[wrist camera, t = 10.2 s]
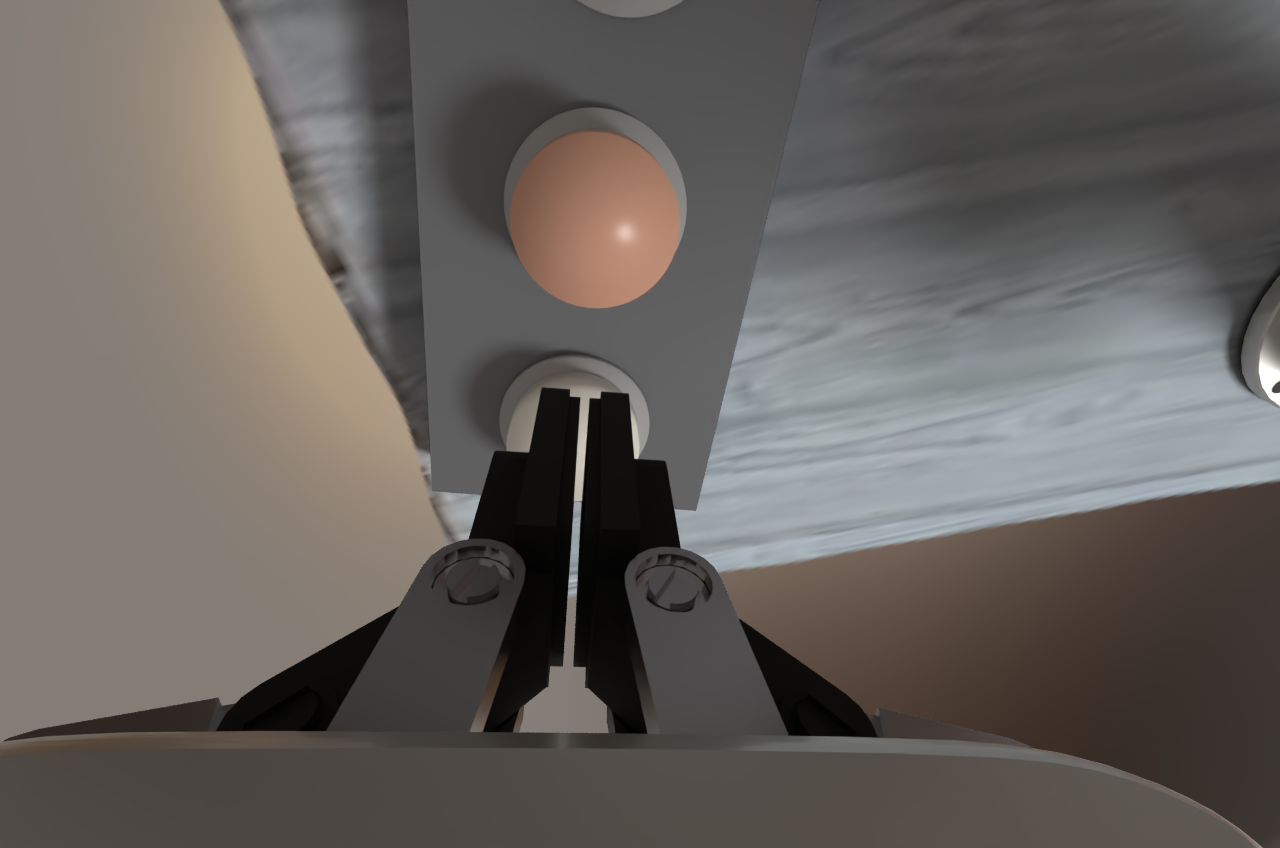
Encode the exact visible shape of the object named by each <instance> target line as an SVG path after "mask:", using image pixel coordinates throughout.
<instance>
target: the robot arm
mask: <svg viewBox="0 0 1280 848" xmlns="http://www.w3.org/2000/svg"><path fill="white" fill-rule="evenodd" d="M1241 363H1242V373H1243V376H1244V378H1245V381H1246V383H1247V385H1248V387H1249V388H1250V389H1251V390H1252V391H1253V392H1254V393H1255V394H1256V396H1257V397H1259V398H1261V399H1263V400H1265V401H1267V402H1268V403H1270V404H1272V405H1274V406H1276V407H1278V408H1280V275H1279V276H1278V277H1277V279H1276V280H1275V281H1274V283H1273V284H1272V285H1271V287H1270V288H1269V289H1268V291H1267V292H1266V293H1265V295H1264V296H1263V298H1262V300H1261V302H1260V303H1259V305H1258V307H1257V309H1256V310H1255V312H1254V314H1253V316H1252V318H1251V321H1250V323H1249V326H1248V328H1247V331H1246V334H1245V336H1244V342H1243V348H1242V353H1241ZM580 399H581V397H570V389H561V388H546V387H542V388H541V393H540V398H539V403H538V408H537V414H536V419H535V424H534V429H533V434H532V439H531V444H530V449H529V452H514V451H497V450H496V451H495V452H494V454H493V457H492V460H491V464H490V467H489V470H488V474H487V477H486V481H485V484H484V488H483V491H482V495H481V498H480V502H479V505H478V509H477V512H476V515H475V519H474V522H473V526H472V529H471V533H470V536H469V539H468V540H462V541H458V542H455V543H453V544H450V545H447V546H445V547H443V548H442V549H440V550H439V551H437V552H436V553H435V554H433V555H431V557H430V558H429V559H428V560H427V561H426V563H425V564H424V565H423V567H422V568H421V570H420V571H419V573H418V575H417V576H416V578H415V580H414V582H413V583H412V585H411V587H410V588H409V590H408V592H407V594H406V595H405V597H404V599H403V600H402V602H401V604H400V606H398V607H397V608H395V609H393V610H391V611H390V612H388V613H386V614H384V615H382V616H381V617H379V618H377V619H375V620H374V621H372V622H370V623H368V624H366V625H365V626H363V627H361V628H359V629H357V630H356V631H354V632H352V633H350V634H349V635H347V636H345V637H343V638H342V639H340V640H338V641H336V642H334V643H333V644H331V645H329V646H327V647H326V648H324V649H322V650H320V651H318V652H317V653H315V654H313V655H311V656H310V657H308V658H306V659H304V660H302V661H301V662H299V663H297V664H295V665H294V666H292V667H290V668H288V669H286V670H285V671H283V672H281V673H279V674H277V675H276V676H274V677H272V678H270V679H269V680H267V681H265V682H263V683H262V684H260V685H259V686H257V687H256V688H254V689H253V690H251V691H250V692H248V693H247V694H246V695H244V696H243V697H241V698H240V700H239V701H238V702H237V703H235V704H230V705H224V706H222V705H221V703H220V700H219V698H213V699H207V700H202V701H196V702H191V703H184V704H179V705H173V706H168V707H162V708H156V709H150V710H145V711H139V712H134V713H128V714H122V715H116V716H111V717H105V718H99V719H93V720H87V721H82V722H76V723H70V724H65V725H59V726H53V727H47V728H42V729H37V730H33V731H30V732H27V733H23V734H20V735H17V736H14V737H10V738H8V739H6V740H4V741H2V742H0V848H1262V847H1261V846H1260V845H1259V844H1257V843H1256V842H1255V841H1254V840H1253V839H1251V838H1250V837H1249V836H1248V835H1247V834H1245V833H1244V832H1243V831H1242V830H1240V829H1239V828H1238V827H1236V826H1235V825H1233V824H1231V823H1230V822H1229V821H1227V820H1226V819H1224V818H1223V817H1221V816H1220V815H1218V814H1217V813H1215V812H1214V811H1212V810H1210V809H1208V808H1207V807H1205V806H1203V805H1200V804H1199V803H1197V802H1195V801H1193V800H1191V799H1189V798H1187V797H1185V796H1183V795H1181V794H1179V793H1177V792H1175V791H1172V790H1170V789H1168V788H1166V787H1164V786H1162V785H1159V784H1157V783H1154V782H1151V781H1149V780H1146V779H1143V778H1140V777H1138V776H1135V775H1132V774H1129V773H1127V772H1123V771H1120V770H1118V769H1116V768H1113V767H1110V766H1107V765H1104V764H1100V763H1096V762H1092V761H1088V760H1085V759H1081V758H1077V757H1073V756H1069V755H1065V754H1061V753H1057V752H1051V751H1045V750H1038V749H1033V748H1032V747H1030V746H1028V745H1025V744H1023V743H1020V742H1018V741H1015V740H1012V739H1010V738H1005V737H1001V736H997V735H993V734H988V733H984V732H980V731H976V730H971V729H967V728H963V727H959V726H954V725H950V724H946V723H941V722H937V721H933V720H929V719H924V718H920V717H916V716H911V715H907V714H903V713H899V712H894V711H890V710H886V709H882V708H878V709H877V711H876V713H875V715H872V714H868V713H864V711H863V710H862V709H861V707H860V706H859V705H858V704H856V703H855V702H854V701H853V700H852V699H851V698H850V697H849V696H847V695H846V694H845V693H844V692H842V691H841V690H839V689H838V688H837V687H835V686H834V685H832V684H831V683H830V682H828V681H827V680H825V679H824V678H822V677H821V676H820V675H818V674H817V673H815V672H814V671H812V670H811V669H810V668H808V667H807V666H805V665H804V664H802V663H801V662H800V661H798V660H797V659H796V658H794V657H793V656H791V655H790V654H789V653H787V652H786V651H784V650H783V649H781V648H780V647H779V646H777V645H776V644H774V643H773V642H772V641H770V640H769V639H767V638H766V637H765V636H763V635H762V634H760V633H759V632H757V631H756V630H755V629H753V628H752V627H750V626H749V625H747V624H746V623H745V622H743V621H742V620H740V619H739V618H738V616H737V614H736V612H735V610H734V607H733V605H732V602H731V600H730V598H729V595H728V593H727V591H726V588H725V586H724V584H723V581H722V579H721V577H720V576H719V574H718V572H717V571H716V569H715V568H714V566H712V565H711V564H710V563H709V562H708V561H707V560H705V559H704V558H703V557H701V556H699V555H697V554H695V553H693V552H691V551H688V550H684V549H681V548H680V541H679V535H678V529H677V523H676V517H675V511H674V505H673V499H672V493H671V487H670V481H669V475H668V469H667V464H666V461H664V460H649V459H634V447H633V435H632V423H631V411H630V399H629V393H617V392H603V391H601V395H600V399H598V398H590V399H589V412H588V426H587V439H586V453H585V466H584V479H583V493H582V507H581V522H580V542H579V562H578V583H577V603H576V624H575V645H574V667H586V681H585V688H589V689H590V690H591V691H592V692H593V693H594V694H595V695H596V696H597V697H598V698H599V699H601V700H602V701H603V702H604V703H605V704H606V705H607V725H608V731H609V733H519V731H520V727H521V724H522V720H523V712H524V705H525V704H526V703H527V702H528V701H530V700H531V699H532V698H533V697H535V696H536V695H537V694H538V693H540V692H541V691H542V690H543V689H545V688H546V687H548V684H549V672H550V666H563V655H564V641H565V625H566V610H567V596H568V581H569V567H570V552H571V537H572V522H573V507H574V491H575V476H576V461H577V445H578V430H579V415H580Z"/></svg>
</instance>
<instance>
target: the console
mask: <svg viewBox="0 0 1280 848" xmlns="http://www.w3.org/2000/svg"><path fill="white" fill-rule="evenodd" d="M819 1H820V0H407V7H408V26H409V46H410V65H411V85H412V104H413V124H414V143H415V163H416V182H417V202H418V221H419V241H420V260H421V280H422V300H423V319H424V339H425V358H426V378H427V397H428V417H429V436H430V456H431V475H432V491H438V492H451V493H465V494H478V495H482V491H483V488H484V484H485V481H486V477H487V474H488V470H489V467H490V464H491V460H492V457H493V454H494V452H495V451H496V450H497V451H507V449H506V441H507V434H508V430H509V426H510V423H511V419H512V415H513V411H514V408H515V406H516V404H517V402H518V400H519V399H520V397H521V396H522V394H523V393H524V392H525V391H526V390H527V389H528V388H529V387H530V386H532V385H533V384H534V383H536V382H538V381H539V380H541V379H543V378H545V377H548V376H551V375H554V374H559V373H565V372H582V373H588V374H592V375H595V376H598V377H601V378H603V379H605V380H607V381H609V382H611V383H612V384H614V385H615V386H616V387H618V388H619V389H620V390H621V391H622V392H623V393H629V399H630V402H631V404H632V406H633V408H634V411H635V413H636V418H637V425H638V434H639V446H640V449H639V457H638V459H649V460H664V461H666V464H667V469H668V475H669V481H670V487H671V493H672V499H673V505H674V509H680V510H694V511H696V508H697V504H698V500H699V496H700V492H701V488H702V483H703V479H704V475H705V471H706V467H707V463H708V459H709V455H710V450H711V446H712V442H713V438H714V434H715V430H716V426H717V422H718V417H719V413H720V409H721V405H722V401H723V397H724V393H725V389H726V384H727V380H728V376H729V372H730V368H731V364H732V360H733V356H734V351H735V347H736V343H737V339H738V335H739V331H740V327H741V323H742V318H743V314H744V310H745V306H746V302H747V298H748V294H749V290H750V285H751V281H752V277H753V273H754V269H755V265H756V261H757V257H758V252H759V248H760V244H761V240H762V236H763V232H764V228H765V224H766V219H767V215H768V211H769V207H770V203H771V199H772V195H773V191H774V186H775V182H776V178H777V174H778V170H779V166H780V162H781V158H782V153H783V149H784V145H785V141H786V137H787V133H788V129H789V125H790V121H791V116H792V112H793V108H794V104H795V100H796V96H797V92H798V88H799V83H800V79H801V75H802V71H803V67H804V63H805V59H806V55H807V50H808V46H809V42H810V38H811V34H812V30H813V26H814V22H815V17H816V13H817V9H818V5H819ZM591 128H595V129H606V130H610V131H615V132H618V133H620V134H623V135H625V136H627V137H629V138H631V139H633V140H635V141H636V142H638V143H639V144H640V145H642V146H643V147H644V148H645V149H646V150H647V151H648V152H650V153H651V154H652V155H653V157H654V158H655V159H656V161H657V162H658V163H659V164H660V166H661V167H662V169H663V170H664V172H665V174H666V175H667V177H668V179H669V181H670V182H671V185H672V187H673V189H674V192H675V195H676V198H677V202H678V207H679V214H680V231H679V239H678V243H677V248H676V251H675V253H674V256H673V259H672V261H671V263H670V265H669V267H668V268H667V270H666V271H665V273H664V274H663V276H662V277H661V278H660V279H659V281H658V282H657V283H656V284H655V285H654V286H653V287H652V288H650V289H649V290H648V291H647V292H646V293H644V294H643V295H641V296H639V297H638V298H636V299H634V300H632V301H630V302H628V303H625V304H622V305H619V306H614V307H609V308H586V307H580V306H576V305H572V304H569V303H566V302H564V301H562V300H560V299H558V298H556V297H554V296H553V295H551V294H549V293H548V292H547V291H545V290H544V289H543V288H542V287H540V286H539V285H538V284H537V283H536V282H535V281H534V280H533V279H532V277H531V276H530V275H529V273H528V272H527V271H526V269H525V268H524V266H523V264H522V263H521V261H520V259H519V257H518V255H517V252H516V250H515V247H514V244H513V240H512V235H511V229H510V207H511V201H512V197H513V192H514V190H515V187H516V184H517V182H518V180H519V178H520V176H521V174H522V172H523V171H524V169H525V168H526V167H527V165H528V164H529V162H530V161H531V160H532V159H533V158H534V156H535V155H536V154H537V153H538V152H539V151H540V150H541V149H542V148H543V147H544V146H546V145H547V144H548V143H549V142H551V141H552V140H554V139H556V138H558V137H559V136H561V135H564V134H566V133H569V132H572V131H576V130H581V129H591ZM574 502H582V501H574Z"/></svg>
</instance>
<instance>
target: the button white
mask: <svg viewBox="0 0 1280 848" xmlns="http://www.w3.org/2000/svg"><path fill="white" fill-rule="evenodd" d="M542 387H546V388H561V389H570V397H581V399H580V415H579V430H578V445H577V461H576V476H575V491H574V501H582V493H583V479H584V466H585V453H586V439H587V426H588V412H589V399H590V398H598V399H600V395H601V391H603V392H617V393H623V392H622V391H621V390H620V389H619V388H618V387H616V386H615V385H614V384H612V383H611V382H609V381H607V380H605V379H603V378H601V377H598V376H595V375H592V374H588V373H582V372H565V373H559V374H554V375H551V376H548V377H545V378H543V379H541V380H539V381H538V382H536V383H534V384H533V385H532V386H530V387H529V388H528V389H527V390H526V391H525V392H524V393H523V394H522V396H521V397H520V399H519V400H518V402H517V404H516V406H515V408H514V411H513V415H512V419H511V423H510V426H509V430H508V434H507V441H506V449H507V451H514V452H529V449H530V444H531V439H532V434H533V429H534V424H535V419H536V414H537V408H538V403H539V398H540V393H541V388H542ZM630 411H631V423H632V435H633V447H634V459H638V457H639V449H640V446H639V434H638V425H637V418H636V413H635V411H634V408H633V406H632V404H631V402H630Z"/></svg>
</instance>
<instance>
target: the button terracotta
mask: <svg viewBox="0 0 1280 848" xmlns="http://www.w3.org/2000/svg"><path fill="white" fill-rule="evenodd" d="M510 229H511V235H512V240H513V244H514V247H515V250H516V252H517V255H518V257H519V259H520V261H521V263H522V264H523V266H524V268H525V269H526V271H527V272H528V273H529V275H530V276H531V277H532V279H533V280H534V281H535V282H536V283H537V284H538V285H539V286H540V287H542V288H543V289H544V290H545V291H547V292H548V293H549V294H551V295H553V296H554V297H556V298H558V299H560V300H562V301H564V302H566V303H569V304H572V305H576V306H580V307H586V308H609V307H614V306H619V305H622V304H625V303H628V302H630V301H632V300H634V299H636V298H638V297H639V296H641V295H643V294H644V293H646V292H647V291H648V290H649V289H650V288H652V287H653V286H654V285H655V284H656V283H657V282H658V281H659V279H660V278H661V277H662V276H663V274H664V273H665V271H666V270H667V268H668V267H669V265H670V263H671V261H672V259H673V256H674V253H675V251H676V248H677V243H678V239H679V231H680V214H679V207H678V202H677V198H676V195H675V192H674V189H673V187H672V185H671V182H670V181H669V179H668V177H667V175H666V174H665V172H664V170H663V169H662V167H661V166H660V164H659V163H658V162H657V161H656V159H655V158H654V157H653V155H652V154H651V153H650V152H648V151H647V150H646V149H645V148H644V147H643V146H642V145H640V144H639V143H638V142H636V141H635V140H633V139H631V138H629V137H627V136H625V135H623V134H620V133H618V132H615V131H610V130H606V129H595V128H591V129H581V130H576V131H572V132H569V133H566V134H564V135H561V136H559V137H558V138H556V139H554V140H552V141H551V142H549V143H548V144H547V145H546V146H544V147H543V148H542V149H541V150H540V151H539V152H538V153H537V154H536V155H535V156H534V158H533V159H532V160H531V161H530V162H529V164H528V165H527V167H526V168H525V169H524V171H523V172H522V174H521V176H520V178H519V180H518V182H517V184H516V187H515V190H514V192H513V197H512V201H511V207H510Z"/></svg>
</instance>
